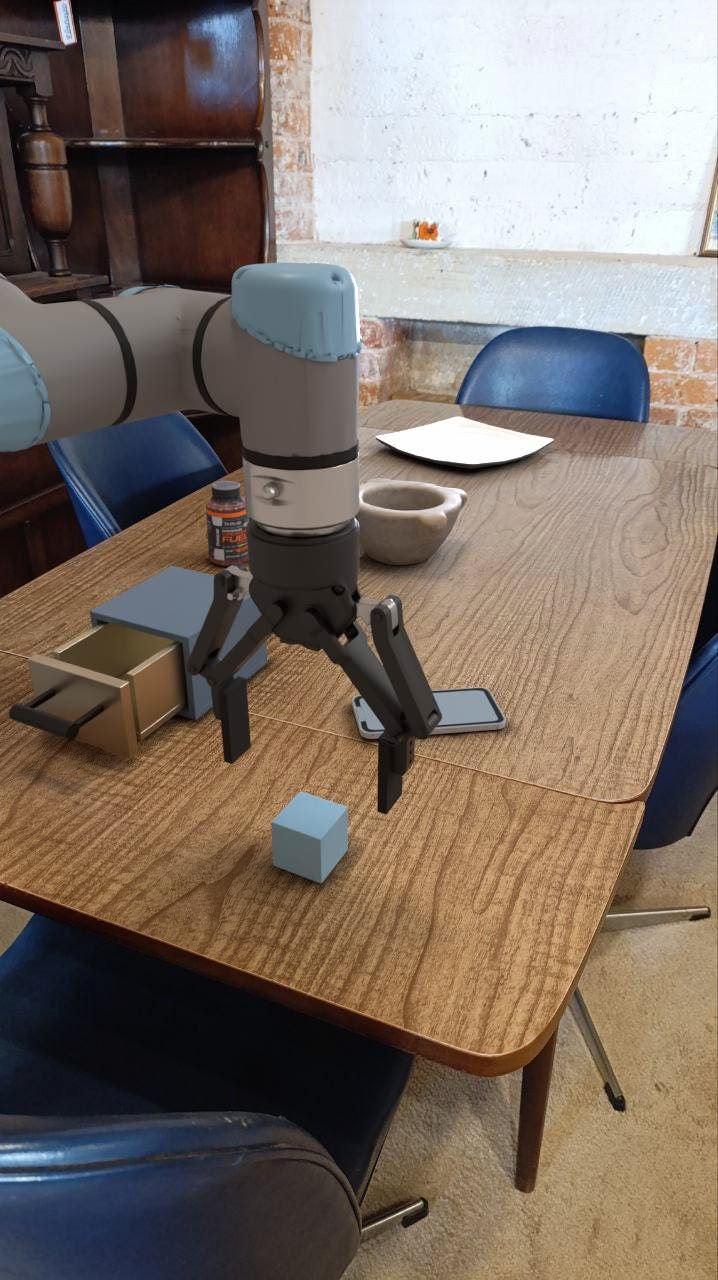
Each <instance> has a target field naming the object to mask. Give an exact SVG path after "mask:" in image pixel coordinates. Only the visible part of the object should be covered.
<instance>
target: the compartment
mask: <svg viewBox="0 0 718 1280" xmlns="http://www.w3.org/2000/svg"><path fill="white" fill-rule="evenodd" d="M214 576H215V575H213V574H209V573H205V572H201V571H196V570H191V569H187V568H183V567H179V566H175V565H171V566H169V567H167V568H165V569H164V570H161V571H159V572H158V573H156V574H154V575H152V576H151V577H149V578H147V579H145V580H143V581H142V582H139V583H137V584H136V585H134V586H132V587H131V588H129V589H127V590H125V591H124V592H122V593H120V594H118V595H117V596H114V597H112V598H111V599H109V600H107V601H105V602H104V603H102V604H100V605H98V606H96V607H94V608H93V609H91V610H90V611H89V617H90V623H91V629H92V628H94V627H95V626H97V625H99V624H100V623H102V622H104V621H105V622H108V623H112V624H115V625H119V626H123V627H126V628H130V629H134V630H137V631H141V632H145V633H148V634H152V635H156V636H159V637H163V638H166V639H170V640H174V641H177V642H181V643H183V653H184V663H185V674H186V684H187V694H188V705H187V706H186V707H184V708H183V709H182V710H180V711H179V712H178V713H176V714H175V715H178V716H181V717H185V718H188V719H191V720H193V721H197V720H198V719H199V718H201V717H202V716H203V715H205V714H206V713H207V712H208V711H210V710H211V709H213V705H212V703H213V702H212V694H211V687H210V686H209V685H208V683H207V681H206V678H204V677H203V676H201V675H200V674H198V675H196V676H194V675H191V674H190V673H189V672H188V670H187V667H186V666H187V662H188V660H189V658H190V655H191V653H192V650H193V648H194V645H195V643H196V641H197V638H198V636H199V633H200V631H201V628H202V626H203V624H204V621H205V619H206V616H207V614H208V611H209V609H210V607H211V604H212V602H213V593H214ZM261 615H262V614H261V613H260V611H259V609H258V608H257V606H256V605H255V603H254V602H253V600H252V598H251V597H250V594H248V595H247V596H246V597H244V600H243V602H242V605H241V607H240V609H239V611H238V614H237V616H236V618H235V620H234V623H233V625H232V627H231V630H230V632H229V634H228V636H227V639H226V641H225V643H224V645H223V648H222V650H221V652H220V655H219V657H218V658H219V659H220V660H222V659H223V658H224V657H225V656H226V655H227V654H228V652H229V651H230V650H231V649H232V648H233V647H234V646H235V645H236V644H237V643H238V642H239V640H240V639H241V638H242V637H243V636H244V635H245V634H246V633H247V632H246V631H247V630H248V629H249V628H250V627H251V626H252V625H253V624H254V623H255V621H256V620H257V619H258V618H259V617H260V616H261ZM267 642H268V641H266V642H265V643H264V644H263V645H262V646H261V647H260V648H259V650H258V651H257V652H256V653H255V654H254V655H253V656H252V657H251V658H250V659H249V660H248V661H247V662H246V663H245V664H244V665H243V666H242V667H241V670H240V671H238V672H237V673H236V674H234V679H235V678H236V677H238V676H240V677H244V678H246V681H247V680H248V679H249V678H251V677H252V676H253V675H255V674H256V673H257V672H259V670H261V669H262V668H263V667H264V666H266V665H267V664H268V645H267V644H268V643H267Z"/></svg>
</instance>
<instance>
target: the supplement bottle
mask: <svg viewBox="0 0 718 1280" xmlns="http://www.w3.org/2000/svg"><path fill="white" fill-rule="evenodd" d="M241 493H242V490H241V484H240V483H238V482H236V481H231V480H221V481H216V482H214V483H212V484H211V497H210V498H208V499H207V500H206V503H205V516H206V534H207V546H208V547H207V549H208V558H209V561H210V562H211V563H213V564H214V565H217V566H221V567H229V566H231V565H232V564H234V563H236V562H241V563H243V564H245V563H248V546H247V530H246V528H247V524H248V523H249V522H250V517H249V516H248V515H247V513H246V506H245V497H244V496H241Z"/></svg>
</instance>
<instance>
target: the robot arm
mask: <svg viewBox="0 0 718 1280" xmlns="http://www.w3.org/2000/svg"><path fill="white" fill-rule="evenodd" d="M358 299H359V297H358V286H357V282H356V280H355V278H354V276H353V275H352V273H351V272H350V271H349V270H347V269H346V268H345V267H343V266H340V265H336V264H330V263H321V262H320V263H319V262H309V263H306V262H302V263H301V262H266V263H264V262H263V263H254V264H247V265H243V266H240V267H239V268H237V270H235V272H234V273H233V275H232V279H231V294H226V293H218V292H210V291H201V290H195V289H194V290H193V289H186V288H181V287H180V286H178V285H170V284H166V283H165V284H164V285H158V286H157V285H156V286H154V285H153V286H149V285H148V286H134V287H130V288H128V289H126V290H124V291H121V293H119V294H118V295H117V296H113V297H103V298H95V299H94V298H93V299H80V300H75V301H65V302H54V303H45V304H43V303H40V302H39V303H38V302H35V301H33V300H32V299H31V298H30V297H29V296H28V295H27V294H25V293H24V292H23V291H22V290H21V289H20V288H19V287H18V286H16V285H15V284H13V283H12V281H10V280H9V279H8V278H6V277H5V276H4V275H3V274H2V273H1V272H0V453H14V452H19V451H21V450H28V449H29V448H31V447H33V446H37V445H40V444H41V445H42V444H46V443H51V442H53V441H57V440H62V439H66V438H70V437H74V436H77V435H82V434H87V433H89V432H93V431H97V430H98V431H99V430H101V429H105V428H109V427H117V426H121V425H126V424H130V423H134V422H138V421H143V420H147V419H152V418H156V417H160V416H164V415H168V414H173V413H177V412H182V411H189V410H193V411H194V410H196V411H203V412H207V413H208V412H209V413H212V414H218V415H221V416H226V417H232V418H238V419H239V426H240V427H239V429H240V438H241V439H240V440H241V441H240V449H241V456H242V472H243V486H244V487H243V488H244V499H245V506H246V513H247V515H248V516H249V523H248V524H247V528H246V530H247V546H248V561H247V563H248V569H247V567H246V565H245V563H241V562H236V563H234V564H232V565H231V566H226V567H225V568H224V569H222V570H221V571H219V572H217V573H216V574H215V575H214V593H213V602H212V604H211V607H210V609H209V611H208V614H207V616H206V619H205V621H204V624H203V626H202V628H201V631H200V633H199V636H198V638H197V641H196V643H195V645H194V648H193V650H192V653H191V655H190V658H189V660H188V662H187V666H186V667H187V670H188V672H189V673H190V674H191V675H194V676H196V675H198V674H200V675H201V676H203V677H204V678H206V681H207V683H208V685H209V686H210V687H211V694H212V702H213V703H212V705H213V707H212V713H213V716H214V718H215V720H217V721H220V730H221V741H222V751H223V753H222V754H223V762H224V763H227V764H230V765H233V764H234V763H235V762H236V761H237V760H238V759H240V758H241V757H242V756H243V755H244V754H245V753H246V752H247V751H248V750H249V749H251V748H252V742H251V728H250V713H249V698H248V696H249V695H248V684H247V683H248V682H247V680H246V678H244V677H240V676H238V677H236V678H235V679H234V674H236V673H237V672H238V671H240V670H241V667H242V666H243V665H244V664H245V663H246V662H247V661H248V660H249V659H250V658H251V657H252V656H253V655H254V654H255V653H256V652H257V651H258V650H259V648H260V647H261V646H262V645H263V644H264V643H265V642H268V641H269V639H270V638H271V637H272V636H273V635H275V636H276V637H277V638H278V639H279V640H280V643H282V644H285V645H289V646H292V645H293V646H295V645H299V646H301V647H303V648H305V649H307V650H309V651H312V652H313V651H314V652H317V653H319V652H320V651H323V652H324V653H325V655H326V656H327V658H328V659H329V660H330V662H331V663H332V664H334V665H338V666H339V667H340V668H341V670H343V672H344V674H345V675H346V677H347V678H348V679H349V681H350V682H351V684H352V685H353V687H354V688H355V689H356V690H357V692H358V693H359V695H361V696H362V697H363V699H364V700H365V702H366V703H367V704H368V706H369V707H370V709H371V710H372V711H373V713H374V714H375V716H376V717H377V719H378V720H379V721H380V723H381V724H382V726H383V727H384V728H385V731H384V732H383V733H382V734H381V735H380V737H379V738H377V796H376V797H377V800H376V803H377V806H376V807H377V808H376V811H377V813H379V814H383V815H388V814H389V812H390V811H391V810H392V808H393V807H394V806H395V804H396V803H397V802H398V801H399V799H401V797H402V795H403V776H405V775H406V774H407V772H408V771H409V770H410V768H411V767H412V766H413V764H414V762H415V753H416V751H415V749H416V748H415V747H416V739H418V740H421V741H424V740H427V739H428V737H430V735H432V734H431V733H432V731H433V730H434V729H435V728H436V726H437V725H438V724H439V722H440V721H441V720H442V714H441V711H440V709H439V707H438V704H437V702H436V700H435V697H434V695H433V693H432V690H433V689H432V688H431V686H430V684H429V680H428V679H427V676H426V674H425V672H424V669H423V667H422V665H421V662H420V660H419V658H418V656H417V653H416V651H415V649H414V646H413V644H412V642H411V639H410V637H409V635H408V633H407V630H406V628H405V624H404V612H403V603H402V599H401V598H400V597H399V596H397V595H396V594H389V595H387V596H386V597H385V598H384V599H374V598H365V597H363V596H362V594H361V592H360V589H359V586H358V577H359V571H360V543H359V523H358V521H357V520H356V519H355V518H354V517H355V516H356V515H357V514H358V512H359V510H360V493H359V485H360V446H359V442H360V440H359V438H358V436H359V434H358V433H359V401H360V399H359V398H360V375H361V373H360V372H361V353H362V349H363V338H362V335H361V330H360V329H361V328H360V315H359V300H358ZM247 570H249V571H247ZM248 594H250V597H251V598H252V600H253V602H254V603H255V605H256V606H257V608H258V609H259V611H260V613H261V614H262V615H261V616H260V617H259V618H258V619H257V620H256V621H255V623H254V624H253V625H252V626H251V627H250V628H249V629H248V630H247V631H246V632H247V633H246V634H245V635H244V636H243V637H242V638H241V639H240V640H239V642H238V643H237V644H236V645H235V646H234V647H233V648H232V649H231V650H230V651H229V652H228V654H227V655H226V656H225V657H224V658H223V659H222V660H220V659H219V658H218V657H219V655H220V652H221V650H222V648H223V645H224V643H225V641H226V639H227V636H228V634H229V632H230V630H231V627H232V625H233V623H234V620H235V618H236V616H237V614H238V611H239V609H240V607H241V605H242V602H243V600H244V597H246V596H247V595H248ZM357 618H360V619H362V621H363V622H364V623H365V627H364V629H363V628H362V626H361V624H360V623H359V622H358V621H357ZM367 633H368V634H371V638H372V642H373V645H374V648H375V650H376V653H377V655H378V656H377V655H376V654H375V653H374V651H373V649H372V647H371V646H370V645H369V644H368V636H367ZM343 635H344V636H345V637H346V642H345V643H343V644H342V643H341V642H340V639H341V638H342V636H343ZM378 657H379V658H378Z"/></svg>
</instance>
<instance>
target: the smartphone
mask: <svg viewBox="0 0 718 1280" xmlns="http://www.w3.org/2000/svg"><path fill="white" fill-rule="evenodd" d="M431 690H432V693H433V695H434V697H435V700H436V702H437V704H438V707H439V709H440V711H441V714H442V720H441V721H440V722H439V724H438V725H437V726H436V728H435V729H434V730H433V731H432V733H431V734H430V735H442V734H457V733H466V732H468V733H469V732H481V731H493V730H502V729H503V728H505V727H506V722H507V721H506V720H507V718H506V716H505V715H504V713H503V710H502V709H501V708H500V705H499V704H498V701H497V699H495V696H494V694H493V693H492V691H491V690H490V689H489V688H487V687H484V686H473V687H472V686H471V687H459V688H458V687H457V688H444V689H431ZM351 708H352V711H353V715H354V718H355V722H356V725H357V728H358V732H359V735H360V736H361V737H362V738H364V739H368V740H373V739H375V740H376V739H377V740H378V738H379V737H380V735H381V734H382V733H383V732H384V731H385V728H384V727H383V726H382V724H381V723H380V721H379V720H378V719H377V717H376V716H375V714H374V713H373V711H372V710H371V709H370V707H369V706H368V704H367V703H366V702H365V700H364V699H363V697H362V696H361V695H360V694H358V695H355V696H353V697H352V699H351Z"/></svg>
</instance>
